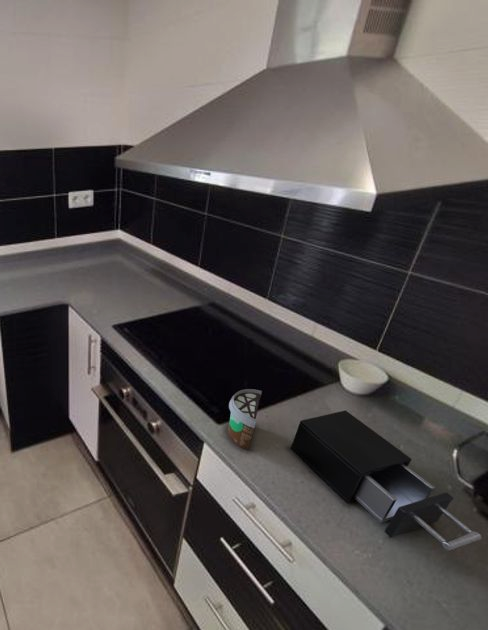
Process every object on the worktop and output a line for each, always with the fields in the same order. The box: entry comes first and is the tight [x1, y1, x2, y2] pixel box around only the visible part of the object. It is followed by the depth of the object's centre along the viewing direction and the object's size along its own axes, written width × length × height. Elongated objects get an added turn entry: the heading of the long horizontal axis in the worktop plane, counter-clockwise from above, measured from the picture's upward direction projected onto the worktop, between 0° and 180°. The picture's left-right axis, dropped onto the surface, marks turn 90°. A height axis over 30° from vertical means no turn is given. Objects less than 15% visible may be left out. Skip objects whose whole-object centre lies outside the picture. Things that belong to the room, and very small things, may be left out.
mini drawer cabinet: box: [290, 410, 412, 504], centre depth 81 cm, size 15×13×9 cm
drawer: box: [353, 464, 482, 552], centre depth 71 cm, size 20×11×7 cm, turn 15°
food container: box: [227, 388, 263, 451], centre depth 90 cm, size 12×6×10 cm, turn 150°
